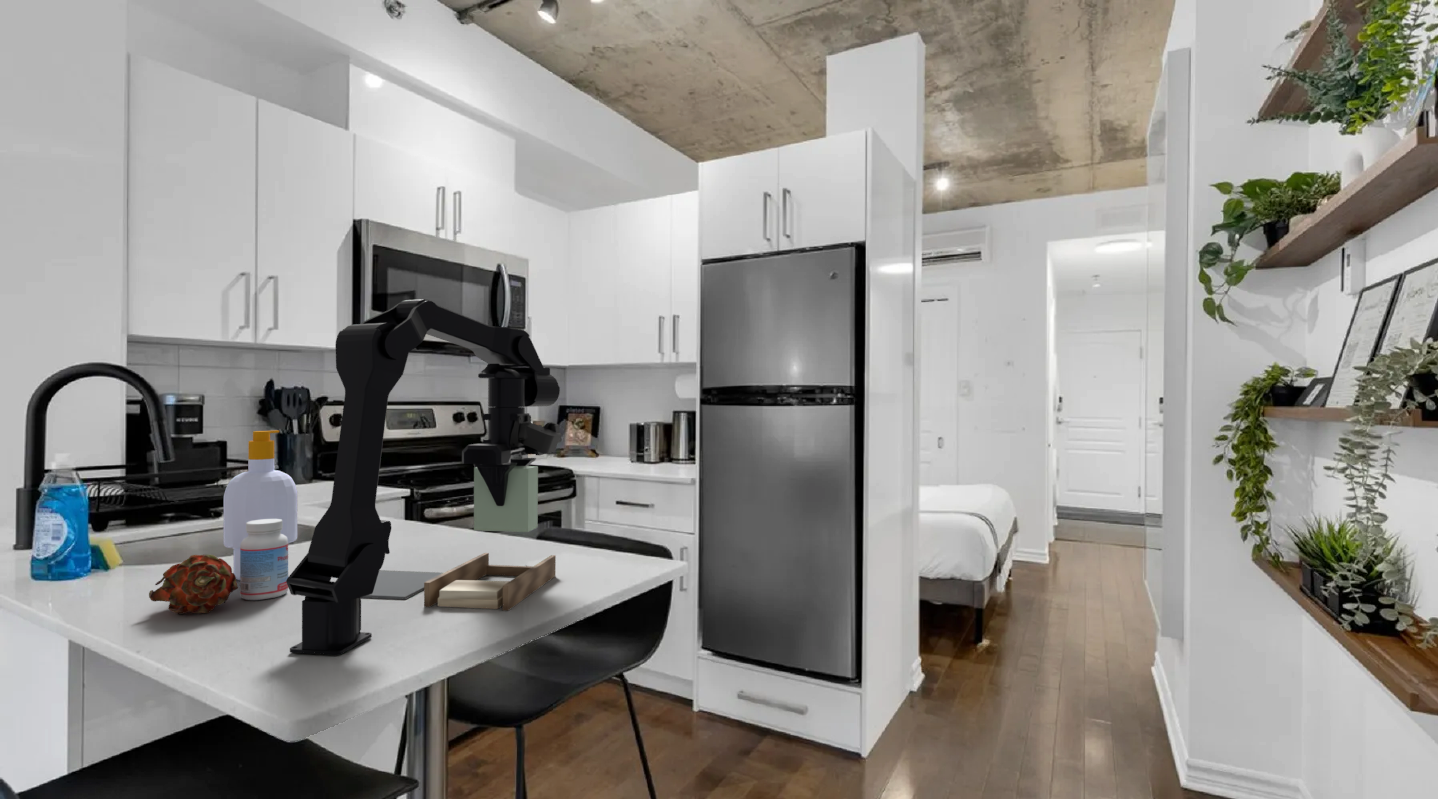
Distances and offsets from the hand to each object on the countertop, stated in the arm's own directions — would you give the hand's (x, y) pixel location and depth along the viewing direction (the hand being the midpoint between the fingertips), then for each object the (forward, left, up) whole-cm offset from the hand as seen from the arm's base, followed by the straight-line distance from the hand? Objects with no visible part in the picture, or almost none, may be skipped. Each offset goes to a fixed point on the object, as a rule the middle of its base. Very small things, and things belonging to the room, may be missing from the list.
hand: (506, 503), depth 113 cm
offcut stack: (-10, 0, -13) cm, 16 cm away
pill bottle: (-12, +33, -13) cm, 37 cm away
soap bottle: (-2, +42, -13) cm, 44 cm away
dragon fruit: (-20, +37, -13) cm, 44 cm away
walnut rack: (-4, 0, -13) cm, 14 cm away
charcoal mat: (-4, +18, -13) cm, 22 cm away
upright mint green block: (0, 0, -4) cm, 4 cm away
